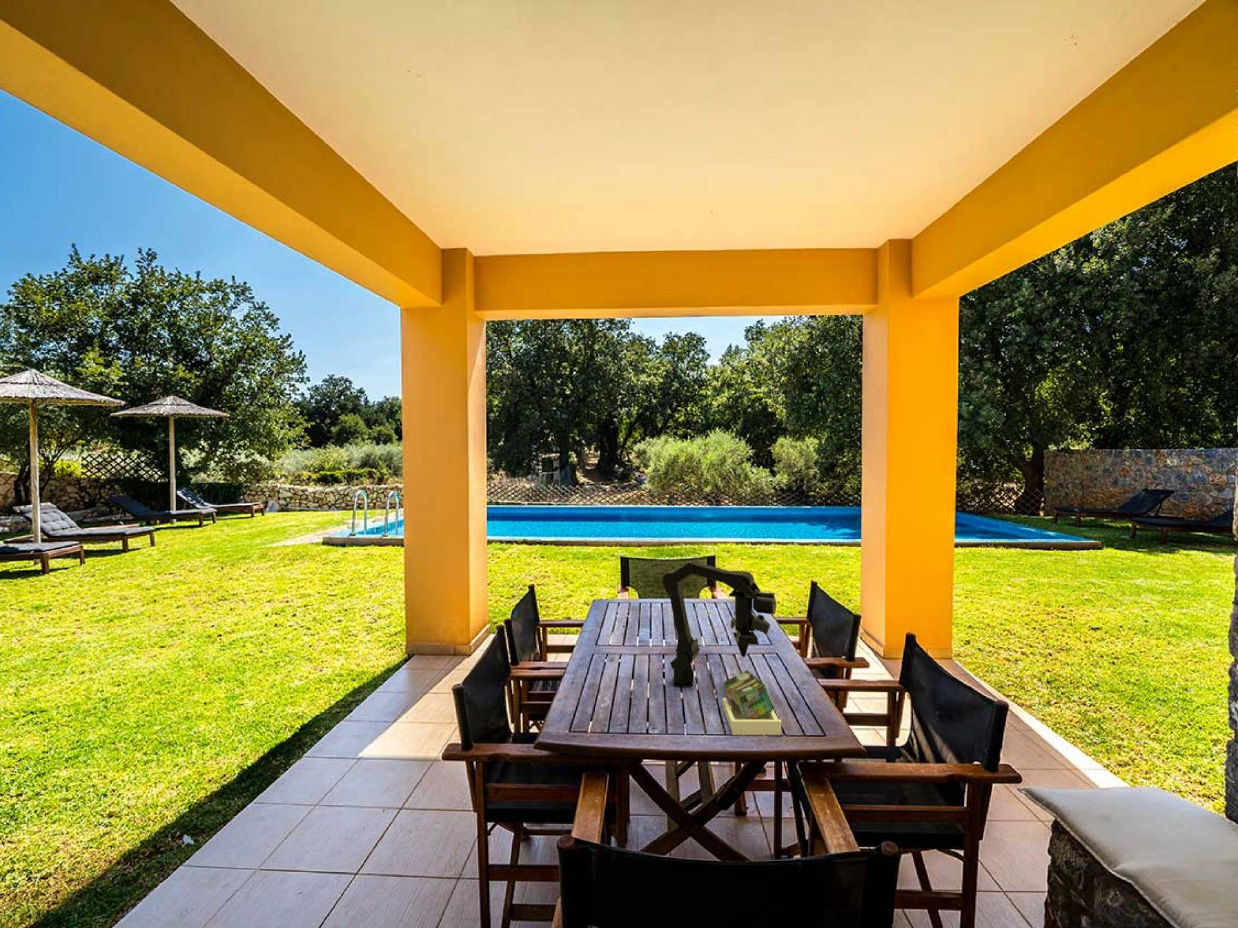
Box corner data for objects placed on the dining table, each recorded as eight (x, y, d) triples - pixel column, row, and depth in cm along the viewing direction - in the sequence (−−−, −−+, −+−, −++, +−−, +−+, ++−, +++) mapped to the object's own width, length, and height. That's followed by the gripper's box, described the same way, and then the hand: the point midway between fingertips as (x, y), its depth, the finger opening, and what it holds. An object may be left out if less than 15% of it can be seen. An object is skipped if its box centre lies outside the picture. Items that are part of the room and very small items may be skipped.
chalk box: (731, 706, 187) (752, 729, 173) (722, 681, 186) (743, 702, 172) (756, 694, 189) (779, 715, 175) (748, 669, 188) (770, 688, 174)
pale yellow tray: (732, 734, 170) (732, 721, 170) (722, 706, 188) (722, 694, 188) (781, 734, 170) (781, 721, 169) (766, 706, 188) (766, 694, 188)
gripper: (774, 619, 187) (773, 667, 187) (762, 602, 205) (762, 647, 206) (738, 618, 187) (738, 666, 188) (730, 602, 206) (730, 646, 206)
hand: (743, 656), depth 197 cm, fingers closed
